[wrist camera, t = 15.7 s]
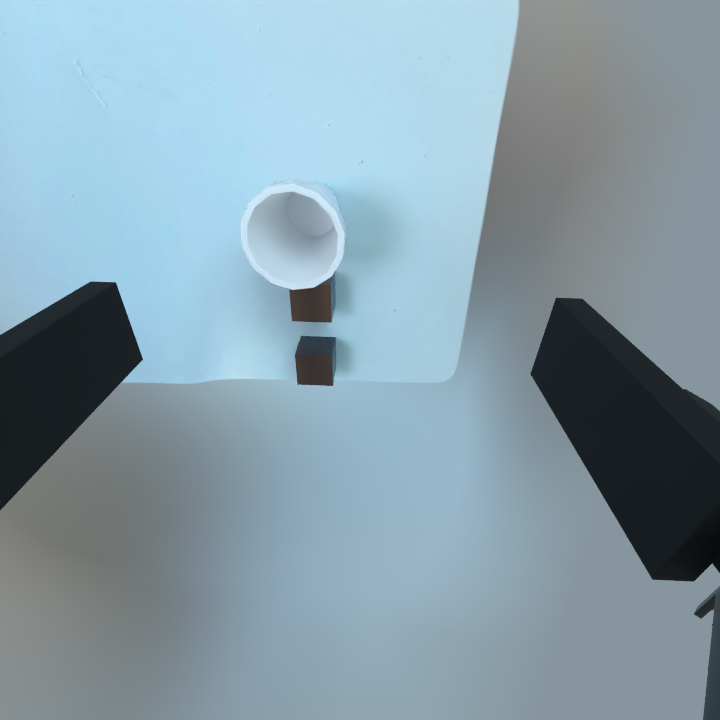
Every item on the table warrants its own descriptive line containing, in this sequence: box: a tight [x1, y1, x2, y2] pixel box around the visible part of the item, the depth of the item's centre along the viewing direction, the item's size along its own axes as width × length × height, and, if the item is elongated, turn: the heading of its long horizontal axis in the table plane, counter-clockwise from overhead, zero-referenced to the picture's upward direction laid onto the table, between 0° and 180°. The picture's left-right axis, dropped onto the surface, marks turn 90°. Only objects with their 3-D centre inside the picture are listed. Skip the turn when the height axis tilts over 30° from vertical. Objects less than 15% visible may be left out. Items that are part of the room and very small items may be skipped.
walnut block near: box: [290, 272, 335, 322], centre depth 48 cm, size 5×5×5 cm
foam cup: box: [240, 179, 346, 290], centre depth 39 cm, size 10×9×13 cm
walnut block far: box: [295, 336, 336, 386], centre depth 54 cm, size 5×5×5 cm
